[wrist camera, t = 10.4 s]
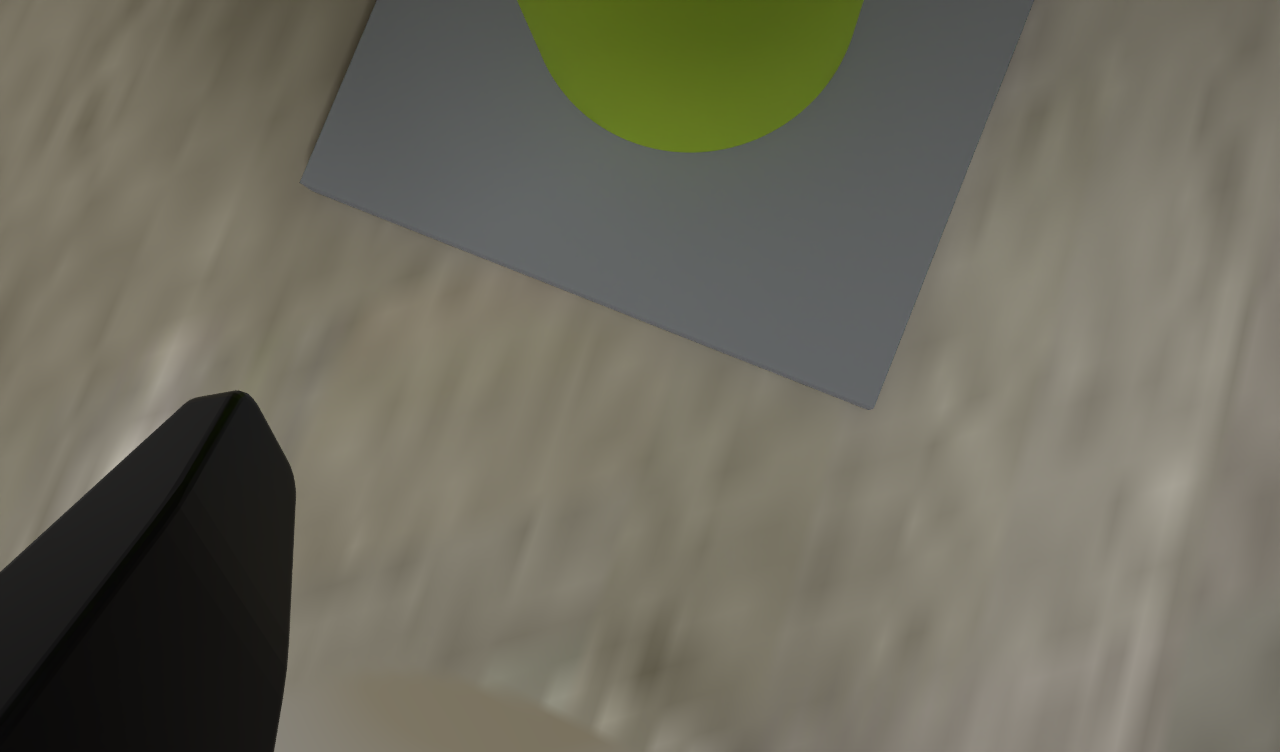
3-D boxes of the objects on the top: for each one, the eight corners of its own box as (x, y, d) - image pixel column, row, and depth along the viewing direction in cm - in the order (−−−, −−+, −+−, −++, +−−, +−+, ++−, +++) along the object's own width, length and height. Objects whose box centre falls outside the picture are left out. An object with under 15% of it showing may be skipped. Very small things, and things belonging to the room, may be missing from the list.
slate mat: (868, 409, 19) (873, 408, 18) (312, 190, 20) (299, 182, 20) (1090, -153, 20) (1101, -173, 19) (535, -338, 21) (529, -362, 20)
